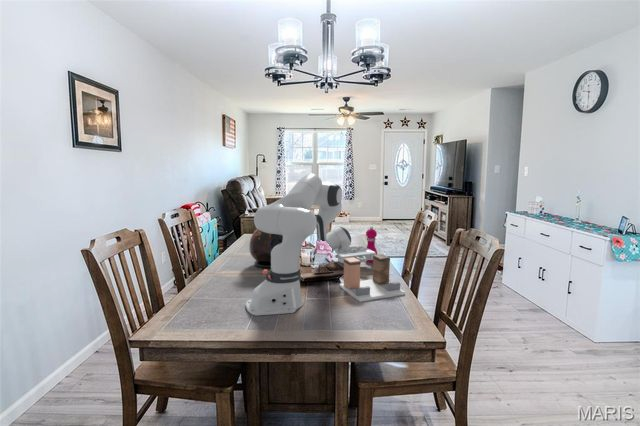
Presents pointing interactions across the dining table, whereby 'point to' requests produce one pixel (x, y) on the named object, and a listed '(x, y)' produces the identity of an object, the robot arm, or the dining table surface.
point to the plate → (374, 290)
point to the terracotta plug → (352, 272)
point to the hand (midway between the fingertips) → (364, 260)
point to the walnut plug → (381, 268)
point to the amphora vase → (263, 247)
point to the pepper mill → (371, 241)
